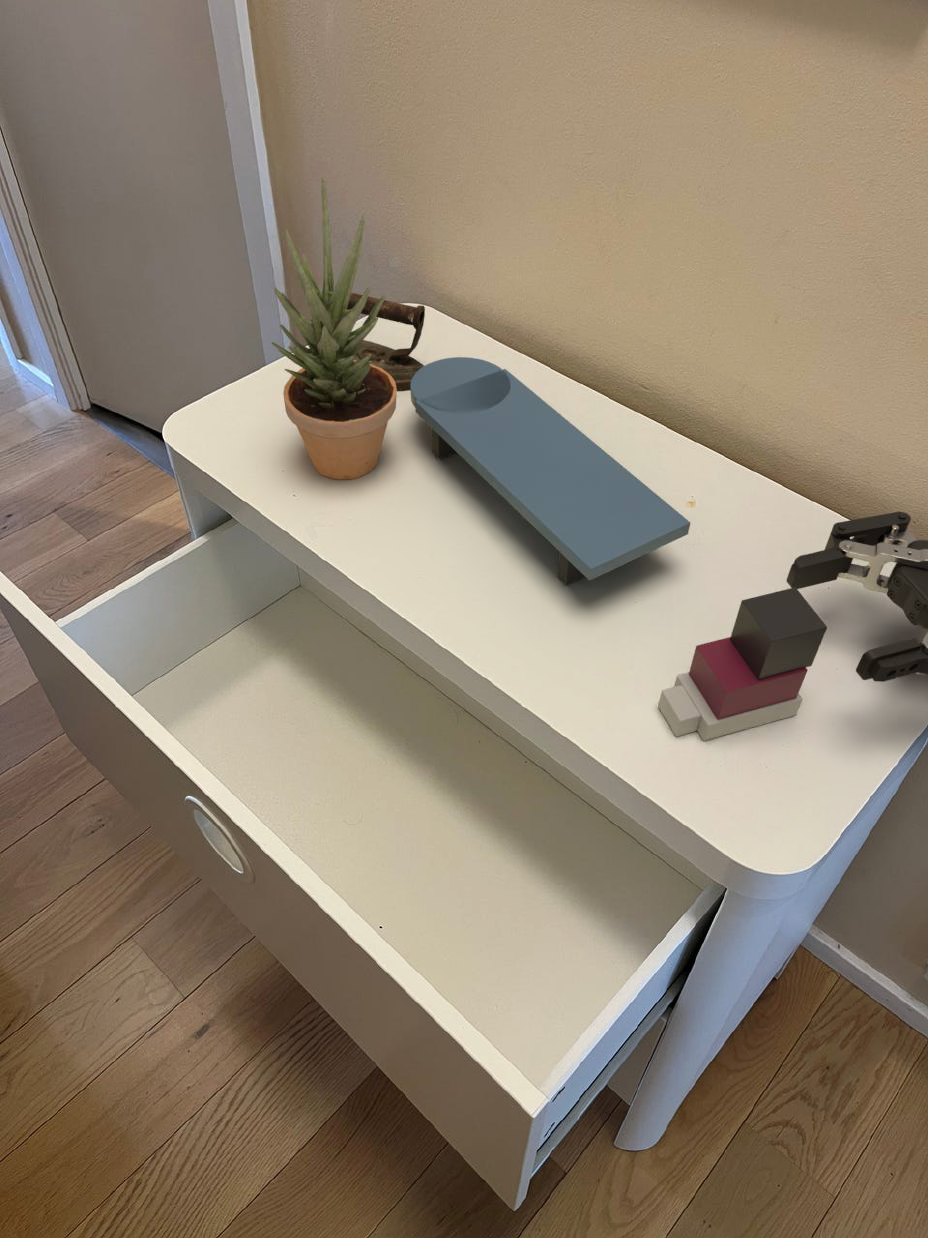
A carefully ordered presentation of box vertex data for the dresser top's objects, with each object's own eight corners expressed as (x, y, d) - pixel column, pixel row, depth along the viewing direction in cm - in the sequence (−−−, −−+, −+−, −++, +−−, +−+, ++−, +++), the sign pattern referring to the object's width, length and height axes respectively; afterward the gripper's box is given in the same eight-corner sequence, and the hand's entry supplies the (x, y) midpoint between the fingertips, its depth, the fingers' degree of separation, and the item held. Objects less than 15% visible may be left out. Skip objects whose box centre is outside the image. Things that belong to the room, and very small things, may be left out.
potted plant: (418, 472, 85) (406, 190, 67) (318, 505, 82) (277, 219, 64) (371, 413, 91) (348, 140, 73) (276, 442, 88) (228, 164, 70)
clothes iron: (338, 349, 100) (355, 259, 93) (438, 391, 99) (463, 303, 92) (310, 379, 95) (326, 286, 88) (416, 423, 94) (440, 333, 87)
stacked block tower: (762, 667, 70) (792, 582, 63) (796, 715, 67) (831, 631, 60) (651, 696, 68) (671, 612, 62) (681, 747, 65) (705, 664, 59)
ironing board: (680, 570, 77) (690, 522, 73) (584, 616, 73) (591, 569, 69) (477, 391, 94) (478, 345, 90) (392, 422, 90) (389, 376, 86)
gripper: (983, 464, 69) (782, 509, 66) (1134, 600, 60) (909, 660, 56) (944, 542, 74) (757, 587, 71) (1077, 678, 65) (870, 737, 62)
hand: (825, 619), depth 64 cm, fingers open, 8 cm apart
